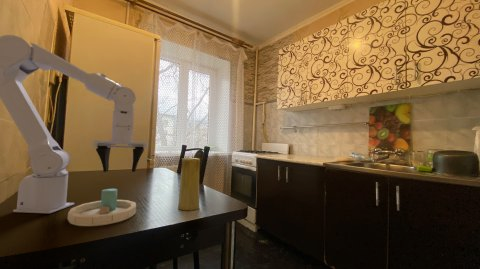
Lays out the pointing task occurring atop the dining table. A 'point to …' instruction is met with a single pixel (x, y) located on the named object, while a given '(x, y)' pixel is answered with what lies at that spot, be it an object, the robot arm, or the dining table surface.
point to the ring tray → (100, 213)
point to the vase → (189, 184)
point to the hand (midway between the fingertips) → (120, 171)
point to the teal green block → (109, 198)
